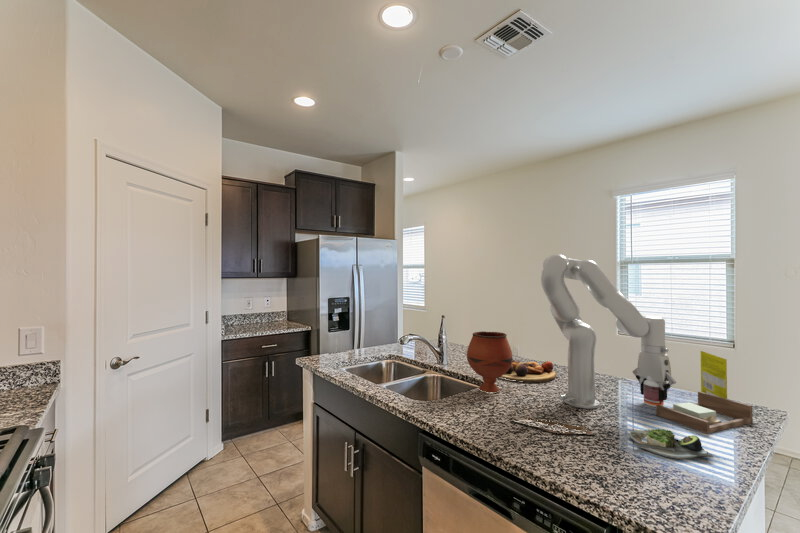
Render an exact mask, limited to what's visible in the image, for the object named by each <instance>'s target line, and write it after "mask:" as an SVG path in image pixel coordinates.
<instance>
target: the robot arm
mask: <svg viewBox="0 0 800 533" xmlns="http://www.w3.org/2000/svg"><path fill="white" fill-rule="evenodd" d="M542 268H543V269H542V270H541V276H540V284H541V287H542V290H543V293H544V294H545V296H546V298H547V300H548V302H549V304H550V307H549V308H550V310H549V311H550V312H551V315H552V316H553V318H554V320H555V322H556V324H557V326H558V328H559V330H560V331H561V333H562V335H563V336H564V337H565V338H566V340H567V341H568V348H567V387H568V388H567V390H566V391H565V394H559V395H558V398H559V399H558V400H560V401H563V402H564V403H566V404H567V405H569V406H572V407H575V408H579V409H586V410H587V409H590V410H592V409H593V410H594V409H598V408H600V404H601V402H600V401H599V400H597V399H596V358H595V357H596V348H597V334H596V332H595V330H594V329H593V328H592V326H591V325H589V324H587V323H586V322H584V321H583V319H582V317H581V315H580V313H581V312H580V308H579V305H578V303H577V302H576V300H575V299H574V297H573V295H572V293H571V292H570V290H569V289H568V287H567V284H566V281H565V279H570V280H574V281H581V283H582V284H583V286H584V287H585V288H586V289H587V291H588V292H589V293H590V294H591V296H592V297H593V298H594V299H595V301H596V302H598V304H599V305H601V307H603V308H605V309H606V310H608V311H609V312H610V313H611V314H612V315H613V316H614V317H615V318H616V323H615V326H616V328H617V329H618V331H620V332H621V333H622V334H624V335H627V336H630V337H632V338H636V339H638V338H640V351H639V353H638V358H637V367H635V368H634V370H632V374H633V375H634V376H635V378H636V380H637V381H638V383H639V384H640V388H639V389H640V395H643V396H644V381H645V380H647V379H646V378H647V377H648V376H650V377H651V378H652V380H654V381H658V383H659V386H660V388H661V389H659V400H661V401H663V400H664V401H667V399H668V390H669V389H671V388H672V387H673V386H674V385H676V384H677V381H676V380H675V378H673V376H672V369H671V362H670V358H669V355H668V354H666V353H669V349H668V348H666V321H665V318H663V317H661V316H655V315H654V316H653V315H648V316H643V314H642V313H641V312H640V311H639V310H638V309H637V307H636V305H634V304H633V303H632V302H631V301H630V300H629V299H628V298H627V297H626V296H624V294H623V293H622V292H620V290H619V289H618V288H617V286H615V285H614V283H613V282H612V281H611V279H610V278H609V277H608V276H607V275H606V273H605V272H604V271H603V269H602V268H601V267H600V265H598V264H597V262H596V261H594V260H591V259H582V260H580V259H574V258H567V257H566V256H565V255H563V254H559V253H555V254H552V255H549V256H547V257H545V259H544V260H543V262H542Z"/></svg>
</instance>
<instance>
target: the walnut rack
mask: <svg viewBox="0 0 800 533" xmlns="http://www.w3.org/2000/svg"><path fill="white" fill-rule="evenodd" d="M693 404H696V405H699V406H702V407H705V408H708V409H711V410H713V411H716V414H720V415H723V416H726V417H730V418H733V420H732V419H731V420H727V421H724V422H721V423H718V424H714V425H710V422H709V421H706V420H703V419H700V418H697V417H694V416H691V415H688V414H685V413H682V412H679V411H676V410H673V409H672V408H673V407H670V408H669V407H667V406H664V405H663V406H661V405H656V407H655V409H656V410H655V412H656V414H655V415H656V417H657V416H658V417H660V418H663V419H665V420H668V421H671V422H672V423H673V422H674V423H677V424H679V425H682V426H685V427H688V428H691V429H693V430H696V431H697V432H698V431H699V432H701V433H704V434H712V433H716V432H720V431H724V430H727V429H731V428H735V427H740V426H744V425H748V424H753V423H754V422H753V419H754V418H753V417H754V416H753V405H750V404H747V403H744V402H739V401H736V400H733V399H730V398H729V399H728V398H727V399H725V398H722V397H718V396H714V395H711V394H707V393H703V392H701V391H697V402H696V403H693Z"/></svg>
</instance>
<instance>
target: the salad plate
mask: <svg viewBox="0 0 800 533" xmlns="http://www.w3.org/2000/svg"><path fill="white" fill-rule="evenodd" d="M628 436H629V438H630V439H631V440H632V441H633V442H634V443H633V445H634V446H635V447H638V448H641V449H644V450H646V451H647V452H650V453H652V454H653V453H654V454H656V455H659V456H663V457H667V458H670V459H675V460H676V459H677V460H680V459H682V460H683V459H684V460H685V459H687V460H688V459H689V460H691V459H693V460H695V459H704V458H712V457H714V455H713V454H712V453H711V454H709V452H708V451H707V450H705V449H704V448H703V446H702V441H701V440H700V438H699V436H697V435H688V436H685V437H683V438H681V439H678V438H675V436H676V435H675V434H674V433H673V431H672V430H669V429H664V428H662V429H661V428H656V429H655V428H654V429H644V430H642V429H640V430H639V429H634V430H631V431H629V434H628ZM643 439H646V441H647V443H646V442H645V441H643Z"/></svg>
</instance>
